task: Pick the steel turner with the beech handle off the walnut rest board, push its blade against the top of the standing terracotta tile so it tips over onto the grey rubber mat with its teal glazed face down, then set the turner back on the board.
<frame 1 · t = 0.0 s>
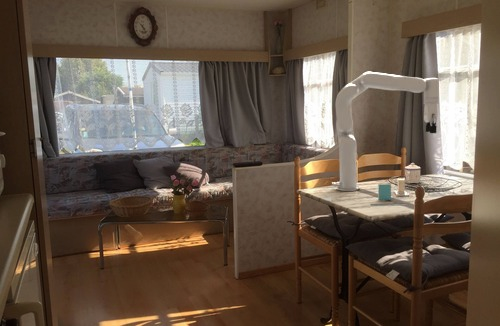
hand: (430, 132, 237), 31 cm above the table, tool pointing down, fingers open, 9 cm apart
teacup with lid: (411, 183, 257), on the table
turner: (401, 194, 227), point 1 cm above the table, touching tool rest
mat: (385, 202, 214), on the table
tile: (384, 199, 218), point 1 cm above the table, touching mat
tool rest: (401, 195, 227), on the table
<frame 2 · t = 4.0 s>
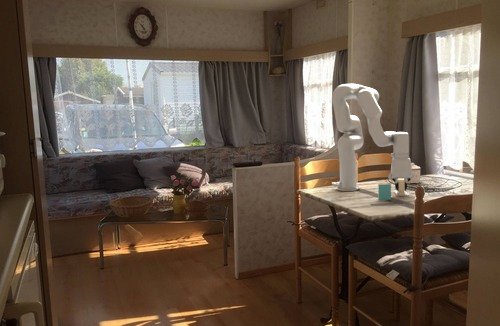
hand: (401, 190, 227), 3 cm above the table, tool pointing down, fingers closed on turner, 3 cm apart
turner: (401, 194, 227), point 1 cm above the table, touching gripper, tool rest
everything else where it was.
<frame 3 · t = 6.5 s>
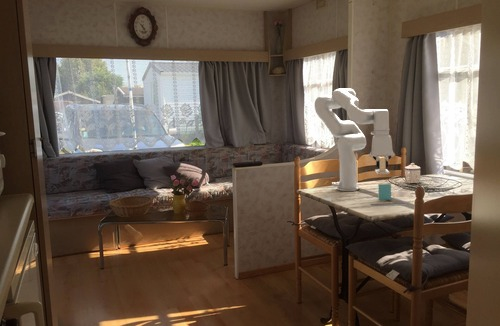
hand: (382, 168, 225), 15 cm above the table, tool pointing down, fingers closed on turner, 3 cm apart
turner: (382, 172, 225), point 13 cm above the table, touching gripper
everything else where it was.
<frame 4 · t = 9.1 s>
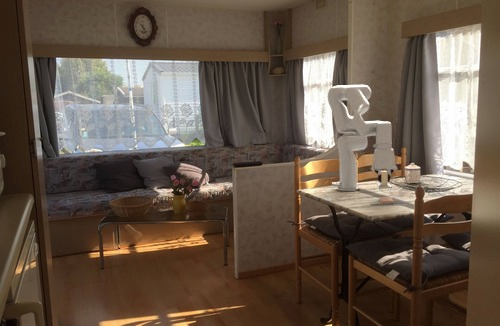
hand: (384, 182, 218), 9 cm above the table, tool pointing down, fingers closed on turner, 3 cm apart
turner: (384, 186, 218), point 7 cm above the table, touching gripper
tile: (384, 198, 217), point 1 cm above the table, tilted 90°, touching mat
everything else where it was.
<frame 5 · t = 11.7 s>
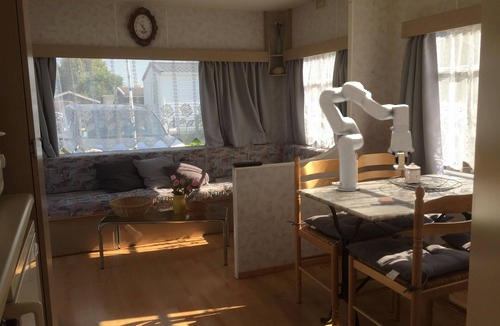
hand: (401, 163, 225), 17 cm above the table, tool pointing down, fingers closed on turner, 3 cm apart
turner: (401, 168, 225), point 15 cm above the table, touching gripper
everything else where it was.
when the fingers open (4 cm above the table, at t = 14.2 s): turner drops 1 cm, resting on tool rest.
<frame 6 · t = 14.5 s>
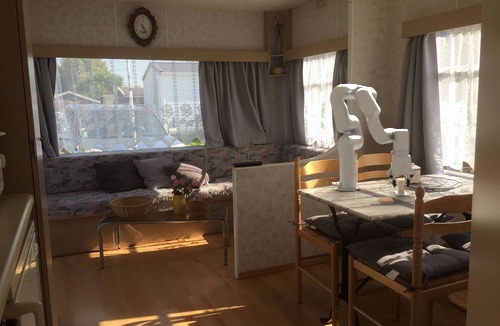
hand: (401, 186, 226), 5 cm above the table, tool pointing down, fingers open, 6 cm apart
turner: (401, 194, 227), point 1 cm above the table, touching tool rest
everything else where it was.
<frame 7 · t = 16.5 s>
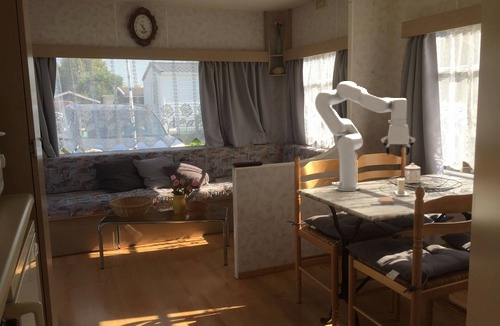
hand: (397, 154, 227), 22 cm above the table, tool pointing down, fingers open, 9 cm apart
nothing on the table moved.
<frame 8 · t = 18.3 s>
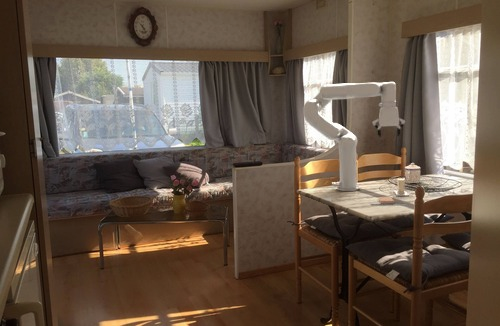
hand: (388, 136, 237), 30 cm above the table, tool pointing down, fingers open, 9 cm apart
nothing on the table moved.
at the end: tile tilted 90°; tile inside the target area (0.4 cm from its centre), point 1.3 cm above the table; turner inside the target area (0.0 cm from its centre), point 0.8 cm above the table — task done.
